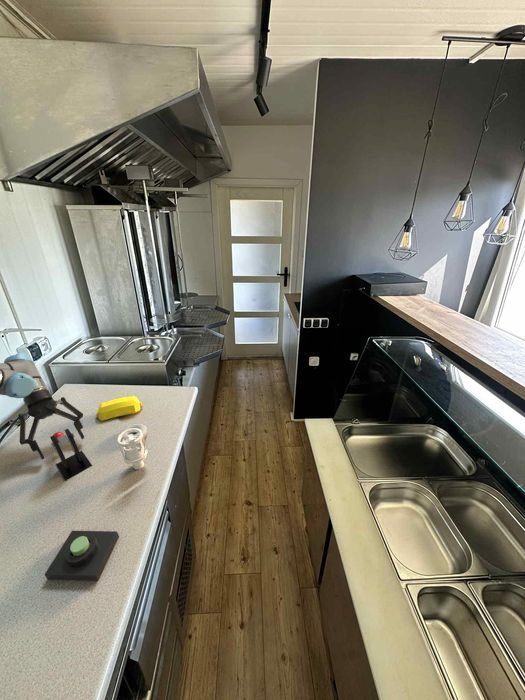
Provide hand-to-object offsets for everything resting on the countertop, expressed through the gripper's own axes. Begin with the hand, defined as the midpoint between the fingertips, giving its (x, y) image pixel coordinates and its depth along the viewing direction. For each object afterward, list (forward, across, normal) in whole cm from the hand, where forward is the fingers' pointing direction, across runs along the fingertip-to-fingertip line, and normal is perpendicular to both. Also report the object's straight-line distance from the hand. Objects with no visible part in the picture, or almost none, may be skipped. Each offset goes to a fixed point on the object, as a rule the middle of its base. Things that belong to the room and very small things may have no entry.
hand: (63, 447), depth 98 cm
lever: (-1, 0, +5) cm, 5 cm away
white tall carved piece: (+20, -14, +14) cm, 28 cm away
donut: (+9, -20, +4) cm, 22 cm away
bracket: (+8, 0, +3) cm, 8 cm away
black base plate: (+31, +8, +26) cm, 41 cm away
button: (+29, +8, +28) cm, 41 cm away
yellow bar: (-4, -23, -9) cm, 25 cm away
